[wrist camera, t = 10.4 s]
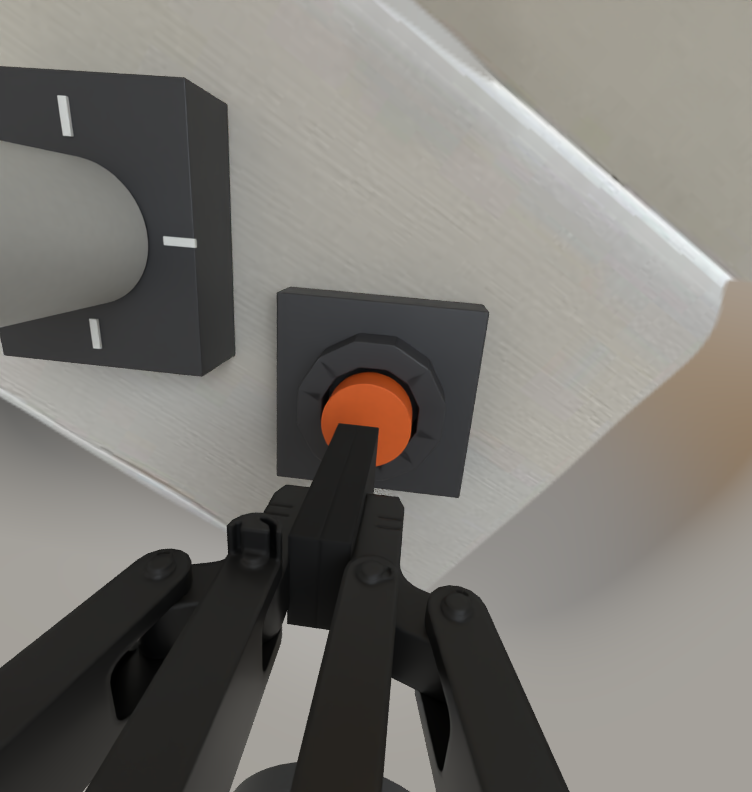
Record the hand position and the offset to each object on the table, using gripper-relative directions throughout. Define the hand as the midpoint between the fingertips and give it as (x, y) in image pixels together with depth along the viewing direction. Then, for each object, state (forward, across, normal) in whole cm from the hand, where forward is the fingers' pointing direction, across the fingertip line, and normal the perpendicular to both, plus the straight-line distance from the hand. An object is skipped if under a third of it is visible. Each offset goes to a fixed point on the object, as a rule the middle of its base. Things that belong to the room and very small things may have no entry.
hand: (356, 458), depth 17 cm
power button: (+5, 0, 0) cm, 5 cm away
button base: (+9, 0, 0) cm, 9 cm away
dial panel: (+9, -13, +7) cm, 17 cm away
